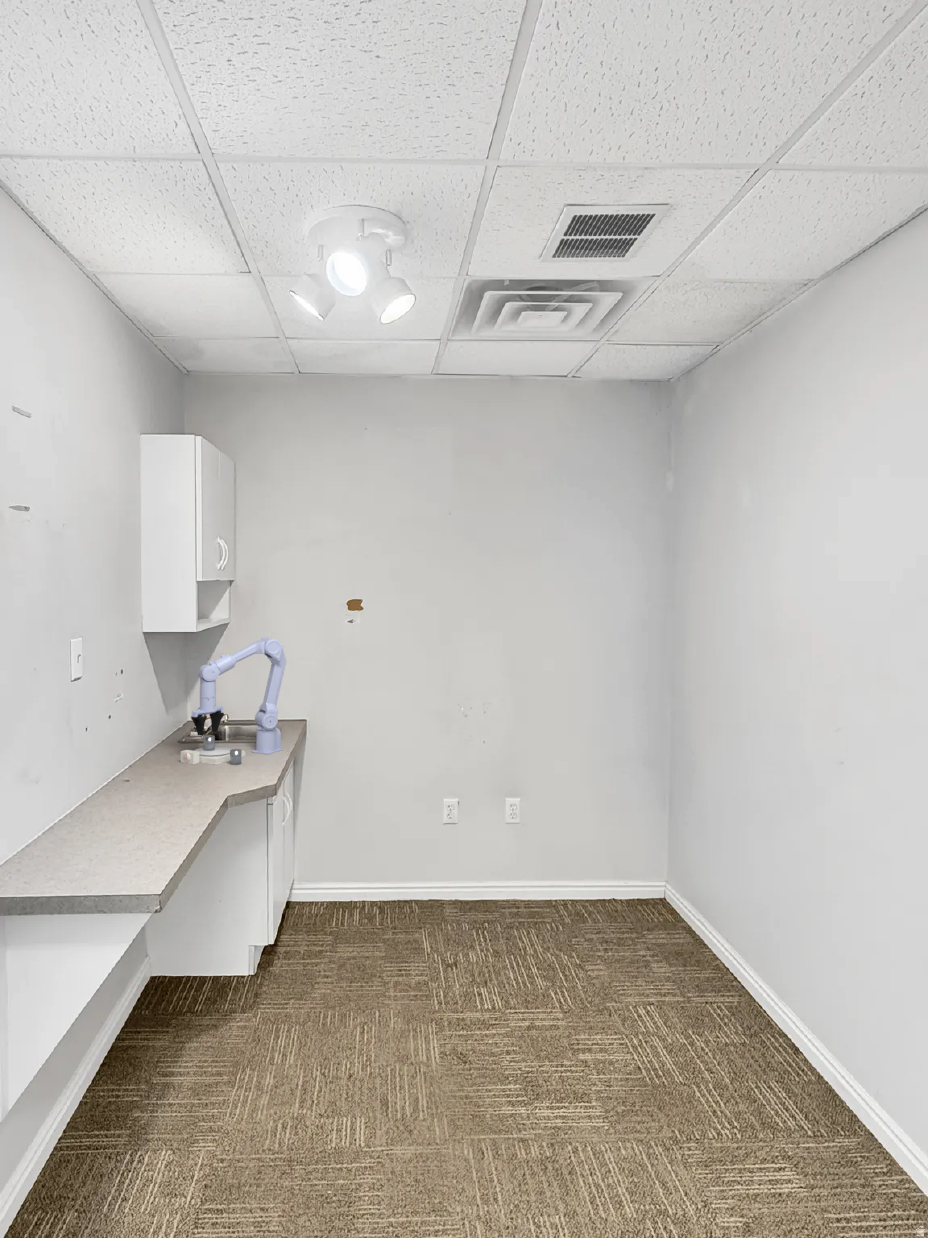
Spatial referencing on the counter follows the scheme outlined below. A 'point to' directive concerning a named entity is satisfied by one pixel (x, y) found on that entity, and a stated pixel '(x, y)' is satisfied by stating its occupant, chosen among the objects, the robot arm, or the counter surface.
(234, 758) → the cylinder
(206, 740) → the cylinder
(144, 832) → the counter surface
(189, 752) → the scale
